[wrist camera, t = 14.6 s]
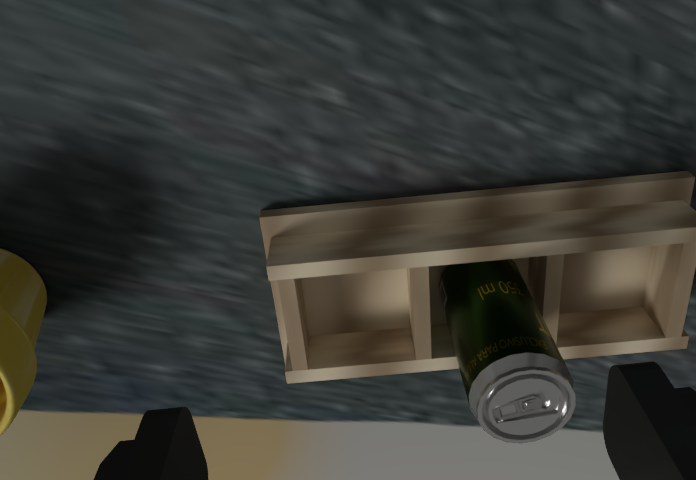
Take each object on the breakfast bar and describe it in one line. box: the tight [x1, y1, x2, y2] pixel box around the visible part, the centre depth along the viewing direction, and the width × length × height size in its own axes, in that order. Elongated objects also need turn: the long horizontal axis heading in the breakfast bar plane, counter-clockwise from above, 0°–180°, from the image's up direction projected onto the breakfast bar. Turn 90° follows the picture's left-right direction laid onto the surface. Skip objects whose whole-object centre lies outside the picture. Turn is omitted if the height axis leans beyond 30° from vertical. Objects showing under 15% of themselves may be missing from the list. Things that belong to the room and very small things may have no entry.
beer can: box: [438, 259, 575, 443], centre depth 37 cm, size 5×5×12 cm
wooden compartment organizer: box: [259, 171, 696, 384], centre depth 41 cm, size 27×12×4 cm, turn 95°
